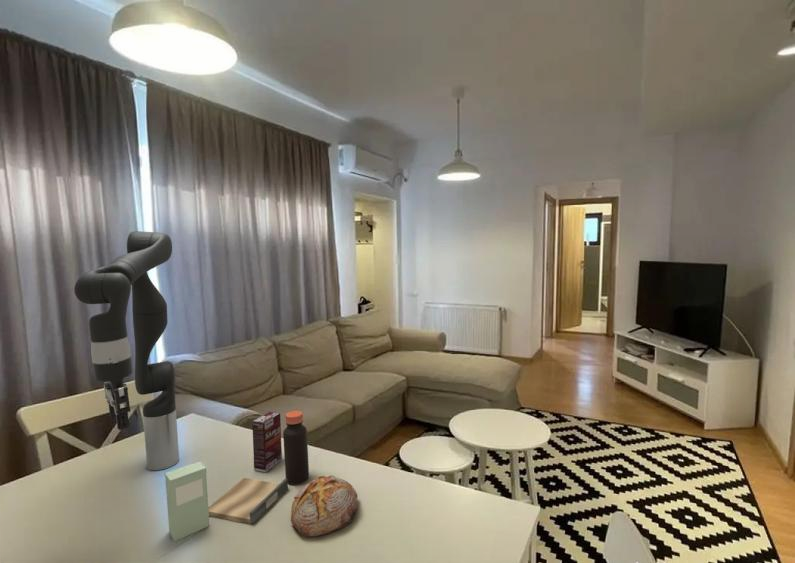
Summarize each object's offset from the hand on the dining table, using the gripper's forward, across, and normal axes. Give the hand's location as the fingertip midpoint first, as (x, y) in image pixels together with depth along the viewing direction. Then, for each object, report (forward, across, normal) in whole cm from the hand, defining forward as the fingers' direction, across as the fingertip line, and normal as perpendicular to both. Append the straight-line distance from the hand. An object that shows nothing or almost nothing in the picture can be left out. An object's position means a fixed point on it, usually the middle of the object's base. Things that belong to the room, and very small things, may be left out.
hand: (119, 422), depth 100 cm
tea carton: (+28, +11, +10) cm, 31 cm away
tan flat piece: (+28, +10, +25) cm, 39 cm away
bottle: (+29, +10, +40) cm, 51 cm away
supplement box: (+30, -4, +38) cm, 49 cm away
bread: (+29, +30, +37) cm, 56 cm away
